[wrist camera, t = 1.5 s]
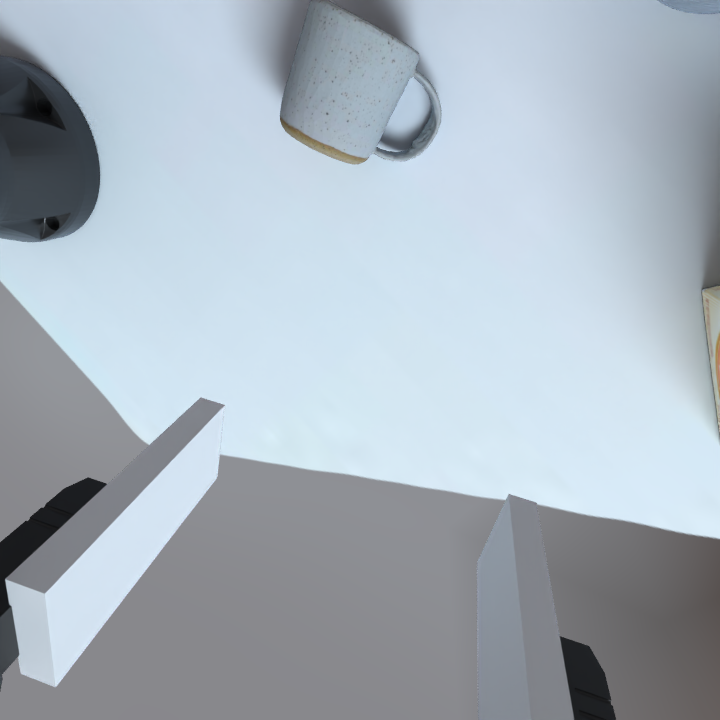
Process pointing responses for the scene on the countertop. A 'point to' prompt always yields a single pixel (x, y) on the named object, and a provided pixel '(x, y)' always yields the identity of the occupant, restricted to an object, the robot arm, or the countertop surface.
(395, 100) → the ceramic mug
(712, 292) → the coffeecake box
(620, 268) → the countertop surface
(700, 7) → the pot
